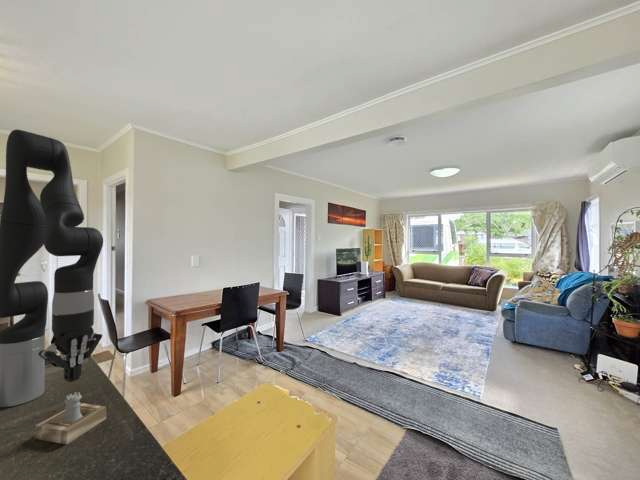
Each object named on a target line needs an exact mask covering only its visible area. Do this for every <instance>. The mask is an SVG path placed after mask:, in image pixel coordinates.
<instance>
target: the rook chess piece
mask: <svg viewBox="0 0 640 480" xmlns="http://www.w3.org/2000/svg"><path fill="white" fill-rule="evenodd" d="M82 398H83V397H82V395H81V392H77V391H75V392H73V394H72V393H69V394H68V395H66V396H65V399H64V401H63V403H64V404H65V407H64V408H65V409H66V414H65V418H64V420H63V422H62V424H68V425H70V424H72V423H73V422H75V421H77V420H78V419H80V418H81V417H83V416H82V414H81V413H80V408H79V405H80V404H81V403H82V402H81V401H80V400H81V399H82ZM65 409H64V410H65Z"/></svg>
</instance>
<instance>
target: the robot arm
mask: <svg viewBox="0 0 640 480" xmlns="http://www.w3.org/2000/svg"><path fill="white" fill-rule="evenodd" d="M5 148H6V149H5V150H6V151H5V183H4V184H5V185H4V186H5V187H4V196H3V201H2V202H3V203H2V209H1V215H0V319H5V318H11V317H17V316H23V315H24V316H23V317H22V318H21V319H20V320H18V321H17V322H15V323H14V324H11V325H10V326H8V327H6V328H3V329H1V330H0V408H9V407H10V408H11V407H15V406H19V405H22V404H25V403H28V402H30V401H33V400H35V399H37V398H39V397H41V396H42V395H43V394H44V393H45V376H46V375H45V368H46V367H45V361H46V362H47V363H49V364H50V365H51V366H53V367H54V368H61V369H63V380H65V381H66V382H67V383H72V382H76V381H77V380H79V379H81V378H80V377H81V375H82V365H83V362H84V360H86V359H89V358H90V357H91V355H92V354H93V352H94V351H95V349H96V347H97V346H98V344H99V342H100V341H101V340H102V338H103V334H102V333H101V334H100V333H96V332H94V328H93V326H94V323H95V321H94V320H95V294H94V272H95V269H96V266H97V262H98V259H99V258H100V257H99V256H100V254H101V251H102V249H103V246H104V237H103V235H102V233H101V232H100V231H99V230H98V229H97V228H95V227H88V226H87V227H85V226H83V227H82V226H80V225H81V224H82V223H83V222H84V220H85V215H84V212H83V210H82V206H81V204H80V202H79V199H78V197H77V194H76V192H75V188H74V187H75V186H74V179H73V173H72V167H71V161H70V156H69V152H68V149H67V147H66V146H65V144H64V143H63V142H62V141H60V140H59V139H55V138H53V137H48V136H45V135H41V134H37V133H34V132H31V131H25V130H22V129H13V130H12V131H10V133H9V135H8V137H7V140H6V147H5ZM28 168H31V169H34V170H35V169H37V170H40V171H41V170H42V171H47V172H51V173H53V177H52V178H51V179H50V180H49V182H48V183H46V184H45V186H44V187H43V188H42V190H41V192H40V194H39V195H40V196H39V198H38V197H37V196H36V194H35V192H34V190H33V187H32V186H31V184H30V182H29V178H28ZM43 246H44V249H45V250H46V251H47V252H48V253H49V254H51V255H53V256H55V257H79V259H78V260H77V261H76V262H75V263H72V264H68V265H64V266H61V267H58V268H56V269H55V271H54V274H53V275H54V276H53V277H54V278H53V279H54V280H53V281H54V282H53V283H54V284H53V288H54V289H53V296H52V297H53V298H52V302H51V304H52V305H51V309H52V310H51V332H52V338H51V340H50V345H49V346H48V347H46V346H45V345H46V339H45V338H46V334H45V333H46V326H47V316H48V304H49V290H48V287H47V285H46V284H45V283H44V282H42V281H38V280H37V281H36V280H35V281H34V280H33V281H24V282H22V281H21V282H16V281H17V277H18V275H19V273H20V271H21V269H22V268H23V266H24V265H25V264H26V263H27V262H28V261H29V260H30V259H31V258H32V257H33V256H35V254H36V253H37V252H38V251H40V250H41V248H43ZM45 348H46V349H45ZM58 354H59V355H58Z"/></svg>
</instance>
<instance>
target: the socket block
mask: <svg viewBox="0 0 640 480" xmlns="http://www.w3.org/2000/svg"><path fill="white" fill-rule="evenodd" d="M80 403H81V404H80V405H79V408H80V413H81V414H82V416H83V417H81V418H80V419H78V420H77V421H75V422H73V423H72V424H70V425H68V424H62V422H63V420H64V418H65V414H66V409H64V410H62V411H60V412H58V413H56V414H55V415H52V416H51V417H49V418H47V419H45V420H43V421H42V422H39V423H37V424H35V439H36V440H41V441H46V442H50V443H51V442H52V443H56V444H62V445H69V444H70V443H71V442H73V441H75V440H76V439H78V438H79V437H81V436H82V435H84V434H85V433H87V432H89V431H90V430H91V429H93V428H94V427H96V426H98V425H99V424H100V423H101V422H103V421H105V420H107V406H105V405H98V404H90V403H85V402H83V403H82V402H80Z"/></svg>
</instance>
